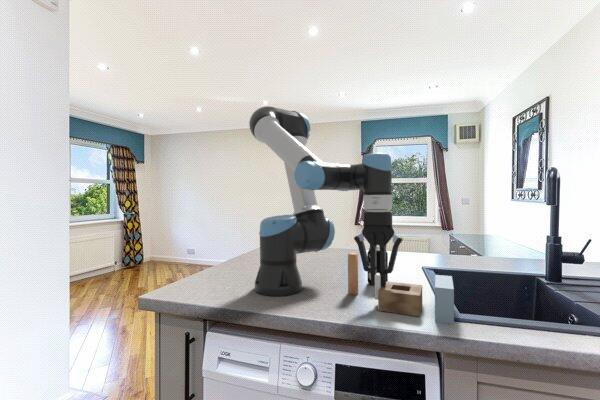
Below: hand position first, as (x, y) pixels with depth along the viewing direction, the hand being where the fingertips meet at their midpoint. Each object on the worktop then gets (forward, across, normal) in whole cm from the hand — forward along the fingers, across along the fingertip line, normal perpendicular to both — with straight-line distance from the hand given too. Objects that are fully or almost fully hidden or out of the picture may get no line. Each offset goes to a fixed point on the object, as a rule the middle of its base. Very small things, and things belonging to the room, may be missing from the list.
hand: (378, 298), depth 84 cm
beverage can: (+2, -4, +20) cm, 21 cm away
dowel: (+2, -9, +7) cm, 12 cm away
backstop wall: (+2, +16, 0) cm, 16 cm away
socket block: (+2, +6, 0) cm, 6 cm away
